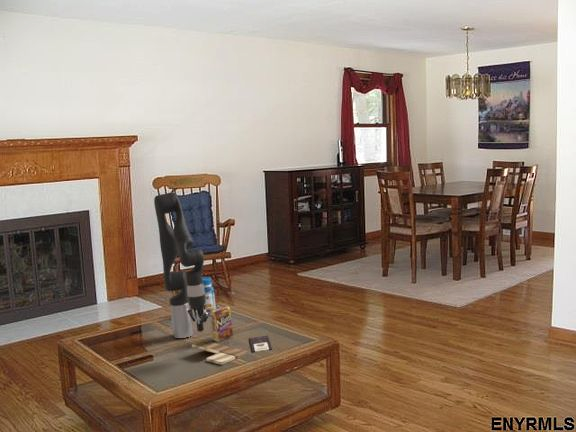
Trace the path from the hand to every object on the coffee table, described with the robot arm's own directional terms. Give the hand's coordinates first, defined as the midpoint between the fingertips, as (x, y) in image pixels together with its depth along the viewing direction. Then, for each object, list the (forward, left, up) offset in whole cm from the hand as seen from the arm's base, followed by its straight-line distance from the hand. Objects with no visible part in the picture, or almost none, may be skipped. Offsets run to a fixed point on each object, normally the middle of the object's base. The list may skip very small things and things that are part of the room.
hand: (200, 331), depth 265 cm
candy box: (-9, +20, -12) cm, 25 cm away
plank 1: (0, +1, -9) cm, 10 cm away
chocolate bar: (+13, +23, -13) cm, 30 cm away
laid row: (+5, +9, -12) cm, 16 cm away
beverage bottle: (-48, +45, -12) cm, 66 cm away
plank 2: (+11, +1, -12) cm, 16 cm away
